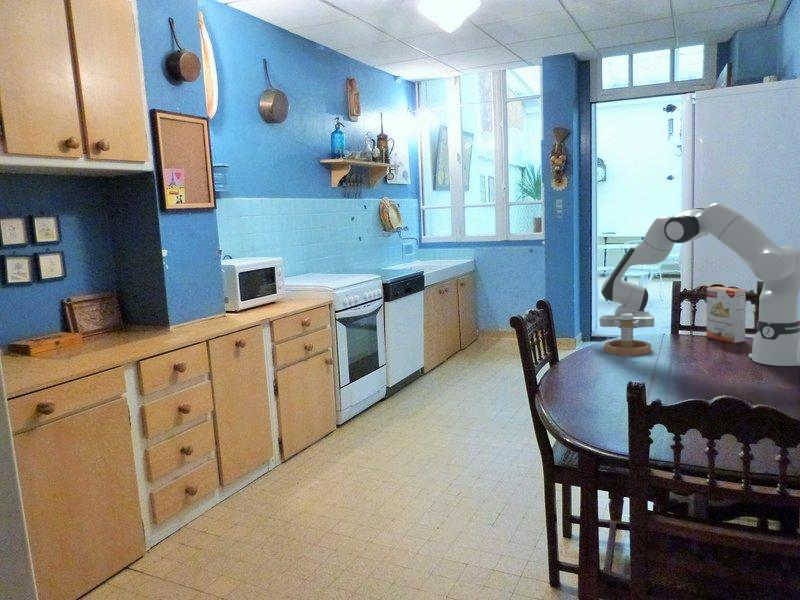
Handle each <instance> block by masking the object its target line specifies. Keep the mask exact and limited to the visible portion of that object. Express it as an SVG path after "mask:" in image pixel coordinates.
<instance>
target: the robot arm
mask: <svg viewBox="0 0 800 600" xmlns="http://www.w3.org/2000/svg"><path fill="white" fill-rule="evenodd" d="M708 234H710V235H711V236H712V237H714V238H715V239H716V240H718V241H719V242H720V243H722V244H723V245H724V246H725V247H727V248H728V249H730V251H732V252H733V253H735V254H736V255H737V256H738V257H739V258H740V259H741V260H742V261H743V262H744V264H745V265H747V266H748V268H750V270H751V272H752V273H753V275H754V276H755V277H756V278H757V279H758V280H760V281H763V284H762V289H761V292H760V294H759V298H758V301H759V303H758V304H759V305H758V320H757V322H756V330H757V332H756V333H755V334H754V335H753V338H752V348H751V349H752V350H751V352H750V353H748V358H749V359H752V361H753V362H756V363H758V364H762V365H768V366H774V367H775V366H776V367H777V366H778V367H800V320H799V319H798V309H799V307H798V306H799V304H798V303H799V294H800V249H798V248H796V247H794V246H791V245H782V246H781V245H780V246H779V245H778V244H776V243H775V242H774V241H773V240H771V238H770V237H769V236H768V235H766V233H765V232H764V230H763V229H762V228H761V227H760V226H758V225H756V224H755V223H754V222H752V221H751V220H749V219H748V218H747V217H745V216H744V215H743V214H741V213H740V212H738V211H736V210H735V209H733V208H731V207H729V206H727V205H725V204H722V203H721V202H714V203H712V204H709V205H708V206H706V208H705V207H696V208H694V209H690V210H684V211H682V212H679V213H678V214H675V215H672V216H669V215H661V216H659V217H657V218H655V220H654V221H653V222H652V223H651V225H650V226H649V228H648V230H647V231H646V233H645V235H644V238H643V240H642V241H641V242H640V243H639V244H637V245H635V246H631V247H629V249H628V250H627V251H626V252H625V254H624V255H623V257H622V258H621V260H620V261H619V262H618V264H617V265H616V266H615V268H614V269H613V271H612V272H611V274H610V275H609V276H608V277H607V279H606V280H605V281H604V282H603V284H602V286H601V290H600V293H601V295H602V297H603V299H604V300H607V301H610V302H615V303H618V304H620V305H618V306H617V307H616V309H615V311H614V315H613V314H612V315H611V314H609V315H608V314H607V315H601V316H600V317H599V319H598V321H599V326H600V327H601V328H602V327H603V328H619V329H620V330H621V314H624V313H629V314H633V330H634V329H638V328H640V329H642V328H654V327H655V317H654V315H652V313H650V311H648V310H645V309H646V308H647V304H648V301H649V291H648V290H647V288H646V287H644V286H641V285H638V284H636V283H632V282H629V281H626V280H624V279H622V277H624V275H625V273H626V272H627V271H628V270H629V268H631V267H632V266H639V265H649V266H651V265H657V264H659V263H660V264H661V263H663V262H664V261H666V260H667V258H668V257H669V255H670V254H671V252H672V250H673V248H674V246H675V244H685V243H687V242H690V241H695V240H697V239H700V238H702V237H703V236H706V235H708Z"/></svg>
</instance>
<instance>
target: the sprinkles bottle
mask: <svg viewBox="0 0 800 600" xmlns="http://www.w3.org/2000/svg"><path fill="white" fill-rule="evenodd" d="M620 340H621V348H633V340H634V329H633V314H629V313H624V314H621V329H620Z"/></svg>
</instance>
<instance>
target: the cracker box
mask: <svg viewBox="0 0 800 600" xmlns="http://www.w3.org/2000/svg"><path fill="white" fill-rule="evenodd" d="M746 292H747V290H746V289H740V288H731V287H724V286H711V287H706V338H708V339H709V338H710V339H713V340H718V341H722V342H727V343H731V344H740V343H744V342H746V312H747V311H746V308H747V306H746V305H747V304H746V298H747V296H746V295H747V294H746Z"/></svg>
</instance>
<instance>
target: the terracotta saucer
mask: <svg viewBox="0 0 800 600" xmlns="http://www.w3.org/2000/svg"><path fill="white" fill-rule="evenodd" d="M603 345H604V347H603V348H604V349H603V350H606V351H607V352H609V353H608V354H610V353H613V354H612V355H615V354H617V355H616V356H624V355H628V356H627V357H630V356H631V357H634V356H644V355H647V354H651V352H652V343H650V342H647V341H644V340H638V339H633V348H621V339H615V340H610V341H606V342H605V343H604V344H603ZM606 351H605V352H606ZM607 352H606V353H607Z"/></svg>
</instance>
